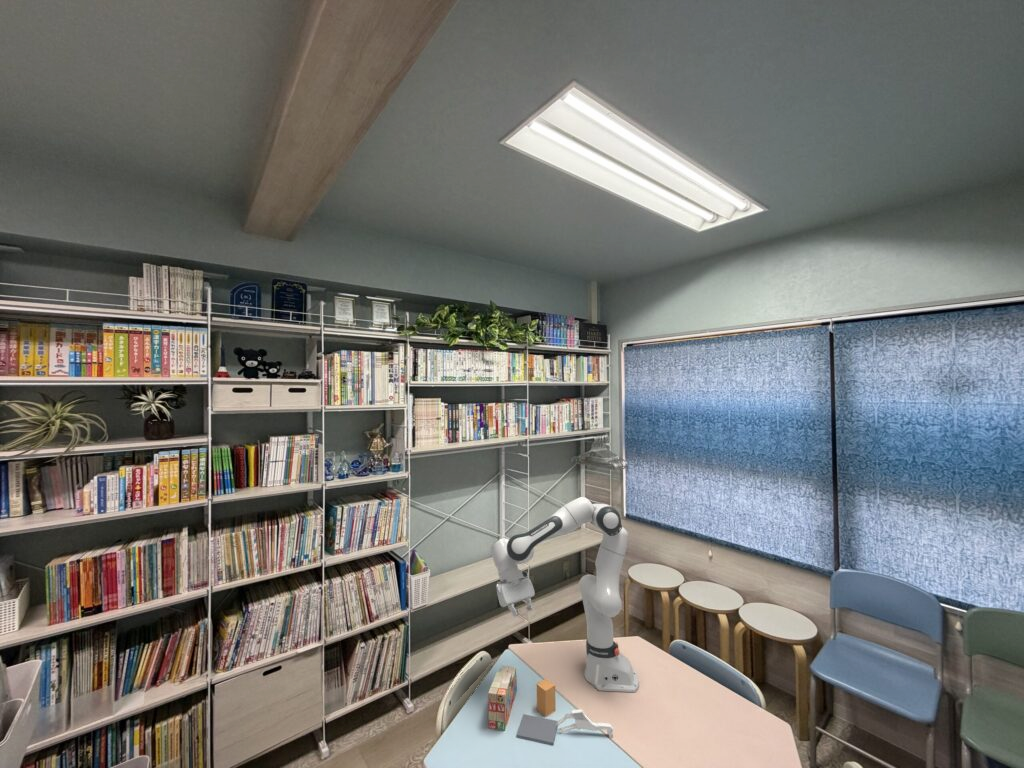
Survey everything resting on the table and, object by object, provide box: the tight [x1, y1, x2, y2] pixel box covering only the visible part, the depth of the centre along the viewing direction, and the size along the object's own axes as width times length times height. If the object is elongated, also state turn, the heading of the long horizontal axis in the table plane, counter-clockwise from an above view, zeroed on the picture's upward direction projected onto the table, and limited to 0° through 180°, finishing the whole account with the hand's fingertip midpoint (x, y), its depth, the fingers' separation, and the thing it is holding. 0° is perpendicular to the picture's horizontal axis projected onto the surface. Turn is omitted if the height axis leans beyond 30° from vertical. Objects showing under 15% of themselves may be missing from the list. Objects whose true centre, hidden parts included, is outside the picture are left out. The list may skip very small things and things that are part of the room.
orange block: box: [536, 678, 556, 718], centre depth 149 cm, size 5×5×9 cm
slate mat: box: [515, 713, 559, 746], centre depth 139 cm, size 13×10×1 cm
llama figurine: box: [555, 708, 614, 738], centre depth 138 cm, size 2×11×18 cm
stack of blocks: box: [487, 665, 518, 732], centre depth 150 cm, size 21×6×12 cm, turn 168°
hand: (523, 613), depth 160 cm, fingers open, 8 cm apart
